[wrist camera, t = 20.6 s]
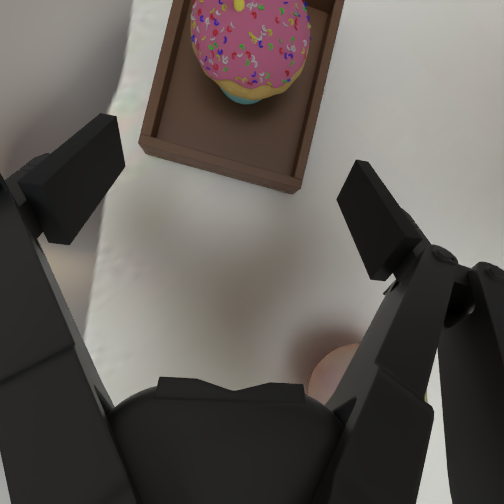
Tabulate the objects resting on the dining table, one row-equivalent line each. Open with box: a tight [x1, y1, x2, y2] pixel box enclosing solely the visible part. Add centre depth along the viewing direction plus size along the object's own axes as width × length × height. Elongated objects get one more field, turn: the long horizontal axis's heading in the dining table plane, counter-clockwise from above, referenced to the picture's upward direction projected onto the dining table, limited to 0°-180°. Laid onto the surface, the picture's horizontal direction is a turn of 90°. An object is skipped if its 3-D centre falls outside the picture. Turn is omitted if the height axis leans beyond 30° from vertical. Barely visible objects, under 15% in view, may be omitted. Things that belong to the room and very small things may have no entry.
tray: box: [138, 0, 344, 194], centre depth 22 cm, size 18×14×2 cm
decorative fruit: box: [307, 343, 428, 405], centre depth 20 cm, size 9×8×10 cm
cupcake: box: [191, 0, 311, 104], centre depth 17 cm, size 9×8×12 cm
